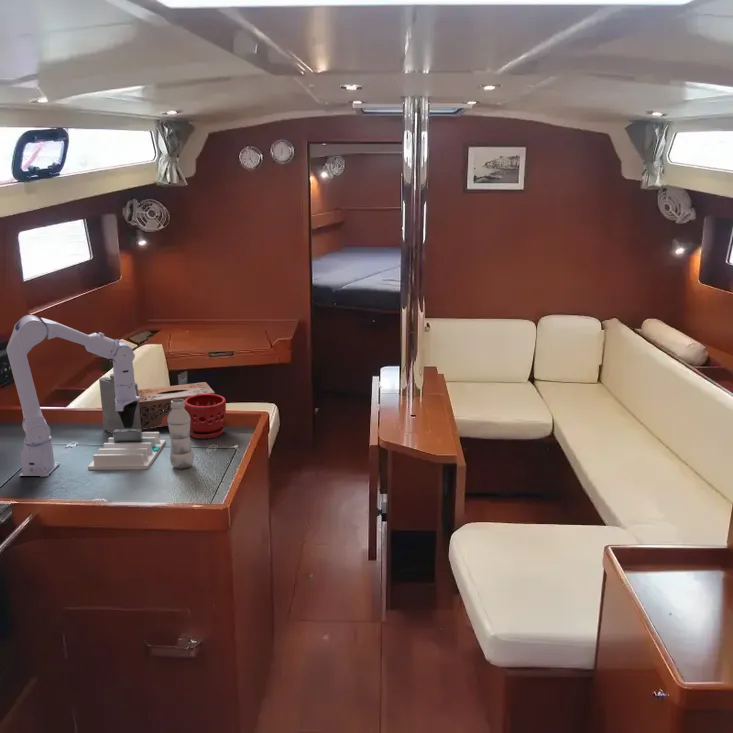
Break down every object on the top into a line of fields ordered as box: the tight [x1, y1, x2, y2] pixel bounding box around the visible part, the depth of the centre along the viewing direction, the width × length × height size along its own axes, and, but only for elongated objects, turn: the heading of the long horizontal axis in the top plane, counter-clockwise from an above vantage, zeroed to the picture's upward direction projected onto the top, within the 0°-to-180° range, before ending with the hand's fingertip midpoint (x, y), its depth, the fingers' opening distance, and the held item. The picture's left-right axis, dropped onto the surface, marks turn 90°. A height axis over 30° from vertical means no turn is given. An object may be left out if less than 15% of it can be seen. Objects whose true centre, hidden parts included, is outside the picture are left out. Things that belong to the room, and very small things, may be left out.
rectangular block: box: [112, 429, 143, 443], centre depth 224 cm, size 2×8×6 cm, turn 91°
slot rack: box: [87, 431, 166, 471], centre depth 222 cm, size 21×17×4 cm
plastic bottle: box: [167, 399, 195, 469], centre depth 212 cm, size 6×7×20 cm
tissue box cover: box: [138, 381, 216, 429], centre depth 255 cm, size 26×14×10 cm, turn 114°
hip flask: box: [98, 373, 141, 434], centre depth 239 cm, size 16×4×20 cm, turn 60°
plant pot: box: [184, 393, 227, 440], centre depth 239 cm, size 13×13×12 cm
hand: (128, 426), depth 223 cm, fingers closed
